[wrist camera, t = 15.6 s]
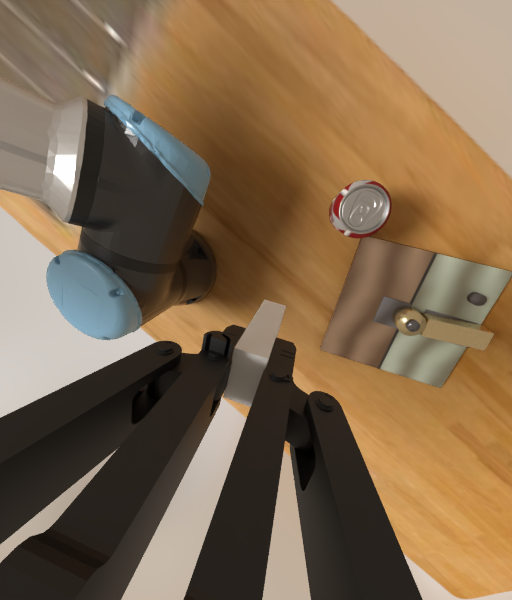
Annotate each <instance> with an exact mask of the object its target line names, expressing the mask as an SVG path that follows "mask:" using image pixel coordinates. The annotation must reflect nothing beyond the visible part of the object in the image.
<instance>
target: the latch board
mask: <svg viewBox="0 0 512 600" xmlns="http://www.w3.org/2000/svg"><path fill="white" fill-rule="evenodd" d="M511 276H512V272H511V271H507V270H503V269H499V268H495V267H491V266H487V265H483V264H479V263H475V262H471V261H466V260H462V259H458V258H454V257H450V256H446V255H442V254H438V253H434V252H430V251H426V250H422V249H418V248H414V247H410V246H406V245H402V244H398V243H393V242H389V241H385V240H381V239H377V238H373V237H369V236H368V237H365V238H361V240H360V242H359V245H358V248H357V250H356V253H355V256H354V258H353V261H352V264H351V266H350V269H349V272H348V274H347V277H346V280H345V282H344V285H343V288H342V290H341V293H340V296H339V298H338V301H337V304H336V306H335V309H334V312H333V314H332V317H331V320H330V322H329V325H328V328H327V330H326V333H325V336H324V338H323V341H322V344H321V346H320V350H322V351H325V352H328V353H331V354H334V355H338V356H341V357H344V358H347V359H350V360H353V361H357V362H360V363H363V364H366V365H369V366H372V367H376V368H378V369H382V370H385V371H388V372H391V373H394V374H398V375H401V376H404V377H407V378H410V379H413V380H417V381H420V382H423V383H426V384H429V385H432V386H435V387H439V388H441V387H442V385H443V384H444V382H445V381H446V379H447V377H448V376H449V374H450V373H451V371H452V370H453V368H454V366H455V365H456V363H457V362H458V360H459V358H460V357H461V355H462V354H463V352H464V351H465V349H466V346H462V345H458V344H454V343H449V342H445V341H441V340H437V339H432V338H428V337H424V336H421V335H420V334H418V335H415V336H407V335H404V334H402V333H401V332H400V331H399V330H398V328H397V327H396V325H395V324H394V323H393V320H392V315H393V313H394V312H395V310H396V309H398V308H400V307H403V306H410V307H413V308H415V309H416V310H417V311H418V312H419V313H420V314H421V312H424V313H429V314H433V315H438V316H442V317H447V318H451V319H456V320H460V321H465V322H469V323H474V324H478V325H481V324H482V322H483V321H484V319H485V317H486V316H487V314H488V313H489V311H490V310H491V308H492V306H493V305H494V303H495V302H496V300H497V298H498V297H499V295H500V294H501V292H502V291H503V289H504V287H505V286H506V284H507V283H508V281H509V280H510V278H511Z"/></svg>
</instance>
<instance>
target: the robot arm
mask: <svg viewBox="0 0 512 600" xmlns="http://www.w3.org/2000/svg"><path fill="white" fill-rule="evenodd" d="M104 105H105V108H103V107H101V106H99V105H97V104H95V103H94V102H92V101H90V100H88V99H86V98H85V97H82V96H81V97H78V98H74V99H71V100H68V101H65V102H53V101H50V100H48V99H46V98H44V97H42V96H40V95H38V94H36V93H34V92H32V91H30V90H28V89H26V88H24V87H22V86H20V85H18V84H16V83H14V82H12V81H10V80H8V79H6V78H4V77H2V76H0V189H2V190H5V191H9V192H13V193H16V194H20V195H24V196H27V197H31V198H35V199H38V200H42V201H43V202H45V203H46V204H47V205H49V206H50V208H51V209H52V210H53V211H54V212H55V213H56V214H57V216H58V217H59V218H60V219H61V220H62V221H63V222H65V223H69V224H73V225H78V226H82V230H81V235H80V239H79V244H78V248H77V250H67V251H64V252H63V253H62V254H61V255H59V256H56V257H55V258H53V259H52V261H51V262H50V263H49V266H48V269H47V277H46V278H47V286H48V289H49V293H50V295H51V298H52V300H53V302H54V303H55V305H56V307H57V308H58V309H59V310H60V312H61V314H62V315H63V316H64V317H65V319H66V320H67V321H68V322H70V324H72V325H73V326H74V327H75V328H77V329H78V330H80V331H81V332H83V333H84V334H87V335H88V336H91V337H94V338H97V339H102V340H110V339H117V338H120V337H122V336H124V335H127V334H128V333H131V332H134V331H136V330H137V329H138V328H140V326H142V325H143V324H145V323H147V322H148V321H150V320H151V319H153V318H154V317H156V316H158V315H159V314H161V313H162V312H164V311H166V310H167V309H169V308H170V307H172V306H176V305H188V304H192V303H194V302H196V301H198V300H200V299H201V298H203V297H204V296H205V295H206V294H207V293H208V292H209V291H210V290H211V288H212V287H213V284H214V282H215V278H216V262H215V258H214V255H213V253H212V250H211V249H210V247H209V245H208V244H207V243H206V242H205V240H204V239H203V238H202V237H200V236H199V235H198V234H196V233H195V232H193V231H192V229H193V227H194V224H195V222H196V219H197V217H198V214H199V212H200V209H201V207H202V206H203V205H204V201H203V200H204V197H205V194H206V191H207V188H208V185H209V182H210V178H211V173H210V168H209V166H208V164H207V163H206V161H205V160H204V159H203V158H201V157H200V156H199V155H198V154H197V153H195V152H194V151H193V150H192V149H190V148H189V147H188V146H186V145H185V144H184V143H182V142H181V141H180V140H178V139H177V138H176V137H174V136H173V135H172V134H170V133H169V132H168V131H166V130H165V129H163V128H162V127H161V126H159V125H158V124H156V123H155V122H154V121H152V120H151V119H149V118H148V117H146V116H145V115H143V114H142V113H141V112H139V111H138V110H136V109H135V108H133V107H132V106H131V105H130V104H128V103H127V102H125V101H124V100H122V99H121V98H119V97H117V96H115V95H110V96H109V97H108V98H107V99H106V100H104ZM285 308H286V306H285V305H282V304H279V303H275V302H272V301H268V300H265V299H264V301H263V303H262V304H261V306H260V307H259V309H258V311H257V312H256V314H255V315H254V317H253V319H252V320H251V322H250V324H249V325H248V327H247V328H243V327H239V326H236V325H231V326H229V327H227V328H226V329H225V330H224V331H223V332H220V331H210V332H207V333H205V334H204V338H203V344H202V350H201V351H200V353H199V354H188V353H181V352H182V349H181V346H180V345H178V344H177V343H175V342H172V341H159V342H156V343H153V344H151V345H149V346H147V347H145V348H143V349H141V350H139V351H137V352H135V353H133V354H131V355H129V356H127V357H125V358H123V359H120V360H118V361H116V362H114V363H112V364H110V365H108V366H106V367H104V368H102V369H100V370H98V371H96V372H94V373H92V374H90V375H88V376H85V377H83V378H82V379H79V380H77V381H75V382H73V383H71V384H69V385H67V386H65V387H63V388H61V389H59V390H57V391H55V392H53V393H51V394H48V395H46V396H44V397H42V398H40V399H38V400H36V401H34V402H32V403H30V404H28V405H26V406H24V407H22V408H20V409H18V410H16V411H14V412H12V413H10V414H7V415H5V416H3V417H1V418H0V544H1V543H2V542H4V541H5V540H6V539H7V538H8V537H10V536H11V535H12V534H13V533H15V532H16V531H17V530H18V529H20V528H21V527H22V526H23V525H24V524H26V523H27V522H28V521H29V520H30V519H32V518H33V517H34V516H35V515H36V514H38V513H39V512H40V511H42V510H43V509H44V508H45V507H46V506H48V505H49V504H50V503H51V502H53V501H54V500H55V499H56V498H57V497H59V496H60V495H61V494H62V493H63V492H65V491H66V490H67V489H68V488H70V487H71V486H72V485H73V484H75V483H76V482H77V481H78V480H79V479H81V478H82V477H83V476H84V475H86V474H87V473H88V472H89V471H90V470H92V469H93V468H94V467H95V466H96V465H98V464H99V463H100V462H101V461H103V460H104V459H105V458H106V457H107V456H109V455H110V454H111V453H112V452H114V451H115V450H116V449H117V448H118V449H117V450H116V452H115V453H114V454H113V455H112V456H111V457H110V459H109V460H108V461H107V462H106V463H105V464H104V466H103V467H102V468H101V469H100V470H99V472H98V473H97V474H96V475H95V476H94V478H93V479H92V480H91V481H90V482H89V483H88V485H87V486H86V487H85V488H84V489H83V490H82V492H81V493H80V494H79V495H78V496H77V498H76V499H75V500H74V501H73V502H72V503H71V505H70V506H69V507H68V508H67V509H66V510H65V512H64V513H63V514H62V515H61V516H60V517H59V519H58V520H57V521H56V522H55V523H54V524H53V525H52V526H51V527H50V528H49V529H48V530H46V531H45V532H44V533H41V534H38V535H35V536H31V537H29V538H28V539H27V540H25V541H24V542H22V543H21V544H20V545H18V546H17V547H16V548H15V549H14V550H13V551H12V552H11V553H10V554H9V555H8V556H7V557H6V558H5V559H4V560H3V561H2V562H1V563H0V600H121V598H122V596H123V594H124V592H125V590H126V588H127V586H128V584H129V582H130V580H131V579H132V577H133V575H134V573H135V571H136V569H137V567H138V565H139V563H140V561H141V559H142V557H143V555H144V553H145V551H146V549H147V547H148V545H149V543H150V541H151V539H152V537H153V535H154V533H155V531H156V529H157V527H158V525H159V523H160V521H161V519H162V518H163V516H164V514H165V512H166V510H167V508H168V506H169V504H170V502H171V500H172V498H173V496H174V494H175V491H176V490H177V488H178V486H179V484H180V482H181V480H182V478H183V476H184V474H185V472H186V470H187V468H188V466H189V464H190V462H191V460H192V458H193V456H194V454H195V452H196V451H197V448H198V447H199V445H200V443H201V441H202V439H203V437H204V435H205V433H206V431H207V429H208V427H209V425H210V423H211V421H212V419H213V417H214V415H215V413H216V411H217V409H218V407H219V405H220V401H221V396H222V395H223V393H224V396H223V397H225V398H227V399H230V400H233V401H236V402H238V403H241V404H244V405H247V406H249V407H251V408H250V411H249V414H248V416H247V419H246V422H245V425H244V428H243V431H242V434H241V437H240V439H239V442H238V445H237V448H236V451H235V454H234V457H233V460H232V462H231V465H230V468H229V471H228V474H227V477H226V480H225V483H224V486H223V489H222V491H221V494H220V497H219V500H218V503H217V506H216V509H215V511H214V514H213V517H212V520H211V523H210V526H209V529H208V532H207V534H206V537H205V540H204V543H203V546H202V549H201V552H200V555H199V558H198V560H197V563H196V566H195V569H194V572H193V575H192V578H191V581H190V583H189V586H188V589H187V592H186V595H185V597H184V600H262V597H263V590H264V583H265V576H266V569H267V562H268V555H269V548H270V541H271V533H272V527H273V520H274V513H275V506H276V499H277V492H278V485H279V478H280V471H281V464H282V457H283V450H284V443H285V440H286V441H287V442H288V443H290V453H291V460H292V467H293V474H294V480H295V488H296V495H297V503H298V510H299V517H300V524H301V530H302V538H303V545H304V552H305V559H306V566H307V573H308V581H309V588H310V595H311V600H422V597H421V595H420V593H419V590H418V588H417V585H416V583H415V581H414V578H413V576H412V574H411V571H410V569H409V566H408V564H407V562H406V559H405V557H404V555H403V552H402V550H401V547H400V545H399V543H398V540H397V538H396V536H395V533H394V531H393V528H392V526H391V524H390V521H389V519H388V517H387V514H386V512H385V509H384V507H383V505H382V502H381V500H380V497H379V495H378V493H377V490H376V488H375V486H374V483H373V481H372V478H371V476H370V474H369V471H368V469H367V467H366V464H365V462H364V459H363V457H362V455H361V452H360V450H359V448H358V445H357V443H356V440H355V438H354V436H353V433H352V431H351V429H350V426H349V424H348V421H347V419H346V417H345V414H344V412H343V410H342V407H341V405H340V404H339V402H338V401H337V400H336V399H335V398H334V397H332V396H331V395H329V394H327V393H324V392H321V391H314V392H312V393H310V395H308V394H306V393H305V392H303V391H302V390H300V389H299V388H298V387H297V386H296V385H295V383H294V382H293V377H292V374H293V367H294V361H295V354H296V347H295V345H294V343H292V342H289V341H286V340H283V339H279V338H277V335H278V332H279V328H280V325H281V322H282V318H283V315H284V311H285ZM224 391H225V392H224Z"/></svg>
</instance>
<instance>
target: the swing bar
mask: <svg viewBox="0 0 512 600" xmlns="http://www.w3.org/2000/svg"><path fill="white" fill-rule="evenodd" d="M392 320H393V323H394V324H395V325H396V327H397V328H398V330H399V331H400V332H401V333H402V334H404V335H407V336H415V335H418V334H420V335H421V336H424V337H428V338H432V339H437V340H441V341H445V342H449V343H454V344H458V345H462V346H466V347H471V348H475V349H479V350H483V351H485V349H486V347H487V346H488V344H489V342H490V340H491V339H492V337H493V335H494V333H493V332H491V331H490V330H488V329H487V328H485V327H484V326H482V325H478V324H474V323H469V322H465V321H460V320H456V319H451V318H447V317H442V316H438V315H433V314H429V313H424V312H421V314H420V313H419V312H418V311H417V310H416V309H415V308H413V307H410V306H403V307H400V308H398V309H396V310H395V312H394V313H393V315H392Z"/></svg>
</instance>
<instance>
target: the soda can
mask: <svg viewBox="0 0 512 600" xmlns="http://www.w3.org/2000/svg"><path fill="white" fill-rule="evenodd" d="M390 212H391V198H390V195H389V193H388V191H387V190H386V189H385V188H384V187H383V186H382V185H381V184H379V183H377V182H375V181H371V180H360V181H357V182H354V183H352V184H350V185H348V186H347V187H345V188H344V189H343V190H342V191H341V192H340V193H339V194H338V195H337V196H336V197H335V198H334V200H333V201H332V203H331V206H330V209H329V218H330V221H331V223H332V225H333V226H334V228H335V229H337V230H338V231H340V232H341V233H343V234H344V235H346V236H348V237H352V238H365V237H368V236H371V235H373V234H375V233H376V232H378V231H379V230H380V229H381V228H382V227H383V226H384V225H385V223H386V222H387V220H388V218H389V216H390Z"/></svg>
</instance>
